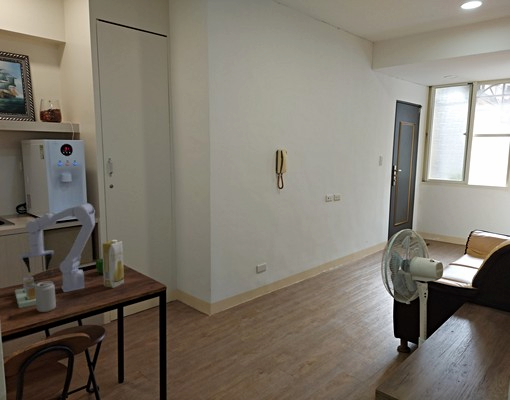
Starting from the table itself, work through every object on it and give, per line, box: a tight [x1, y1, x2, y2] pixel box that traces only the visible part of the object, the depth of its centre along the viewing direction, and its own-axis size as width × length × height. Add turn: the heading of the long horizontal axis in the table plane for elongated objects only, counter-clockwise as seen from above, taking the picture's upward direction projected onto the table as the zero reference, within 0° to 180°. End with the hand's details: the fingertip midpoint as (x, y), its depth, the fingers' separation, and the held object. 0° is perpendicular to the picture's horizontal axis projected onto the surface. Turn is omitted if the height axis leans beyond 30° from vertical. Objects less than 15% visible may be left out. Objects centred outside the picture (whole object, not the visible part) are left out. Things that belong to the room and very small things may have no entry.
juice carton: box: [101, 239, 125, 289], centre depth 194 cm, size 9×8×24 cm
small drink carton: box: [22, 276, 35, 293], centre depth 181 cm, size 4×4×8 cm
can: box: [35, 280, 57, 313], centre depth 165 cm, size 8×8×12 cm
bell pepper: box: [95, 257, 103, 275], centre depth 213 cm, size 8×8×10 cm
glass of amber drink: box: [25, 282, 37, 300], centre depth 173 cm, size 4×4×8 cm
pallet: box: [14, 285, 37, 309], centre depth 177 cm, size 11×20×2 cm, turn 37°
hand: (38, 270), depth 188 cm, fingers open, 7 cm apart
